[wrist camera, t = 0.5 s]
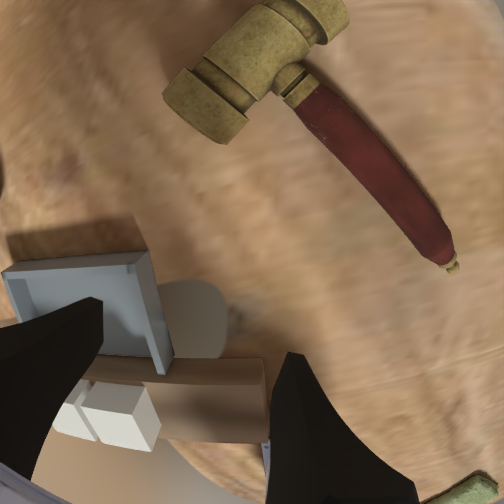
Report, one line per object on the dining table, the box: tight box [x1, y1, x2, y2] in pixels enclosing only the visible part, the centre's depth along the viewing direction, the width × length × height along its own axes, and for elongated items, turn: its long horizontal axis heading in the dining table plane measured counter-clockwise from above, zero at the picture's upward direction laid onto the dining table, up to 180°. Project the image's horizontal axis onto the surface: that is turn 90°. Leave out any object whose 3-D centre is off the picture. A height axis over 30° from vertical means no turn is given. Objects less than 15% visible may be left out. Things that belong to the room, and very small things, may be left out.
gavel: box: [162, 0, 459, 275], centre depth 17 cm, size 21×5×10 cm
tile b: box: [80, 381, 161, 452], centre depth 21 cm, size 4×4×3 cm
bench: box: [81, 354, 270, 444], centre depth 24 cm, size 7×19×3 cm, turn 96°
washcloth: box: [424, 474, 499, 504], centre depth 32 cm, size 13×18×3 cm
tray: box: [1, 250, 175, 375], centre depth 22 cm, size 9×13×2 cm, turn 96°
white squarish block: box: [52, 379, 99, 441], centre depth 22 cm, size 4×4×3 cm
